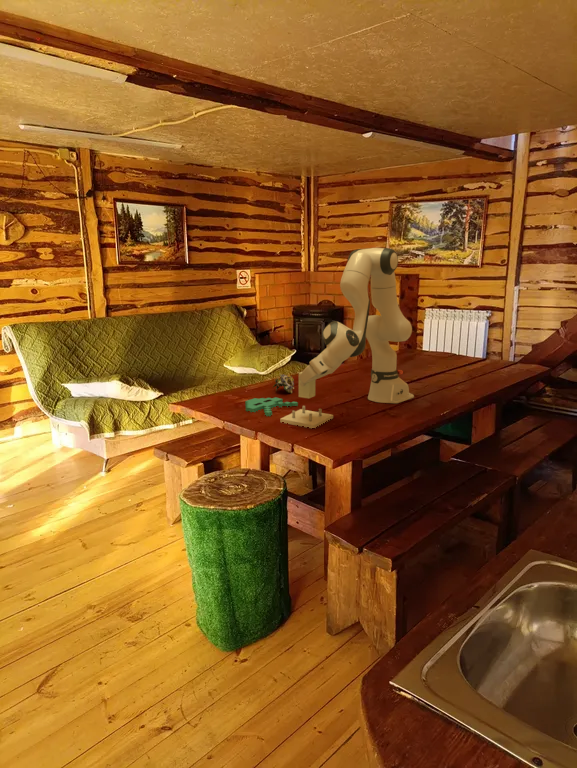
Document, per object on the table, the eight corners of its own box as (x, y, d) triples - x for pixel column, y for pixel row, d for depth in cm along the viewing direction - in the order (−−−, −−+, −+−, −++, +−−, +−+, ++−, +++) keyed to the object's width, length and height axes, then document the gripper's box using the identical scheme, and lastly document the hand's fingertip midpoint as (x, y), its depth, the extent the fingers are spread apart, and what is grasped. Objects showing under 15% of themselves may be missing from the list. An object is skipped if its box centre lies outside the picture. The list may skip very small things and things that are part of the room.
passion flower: (290, 403, 272) (291, 388, 263) (269, 398, 274) (269, 383, 265) (296, 386, 279) (297, 371, 270) (275, 381, 281) (276, 366, 272)
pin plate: (300, 412, 240) (300, 402, 239) (333, 418, 232) (333, 408, 230) (280, 422, 227) (280, 411, 226) (314, 428, 218) (314, 418, 217)
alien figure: (297, 407, 250) (264, 399, 262) (297, 402, 249) (264, 395, 261) (268, 417, 235) (235, 409, 247) (268, 412, 234) (234, 404, 246)
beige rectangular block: (304, 394, 230) (305, 370, 227) (315, 395, 227) (315, 372, 225) (298, 396, 226) (298, 373, 223) (309, 398, 223) (309, 374, 221)
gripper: (334, 352, 227) (313, 372, 235) (309, 360, 210) (287, 382, 218) (343, 364, 226) (322, 384, 233) (319, 373, 209) (297, 394, 217)
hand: (305, 383), depth 226 cm, fingers closed on beige rectangular block, 5 cm apart
